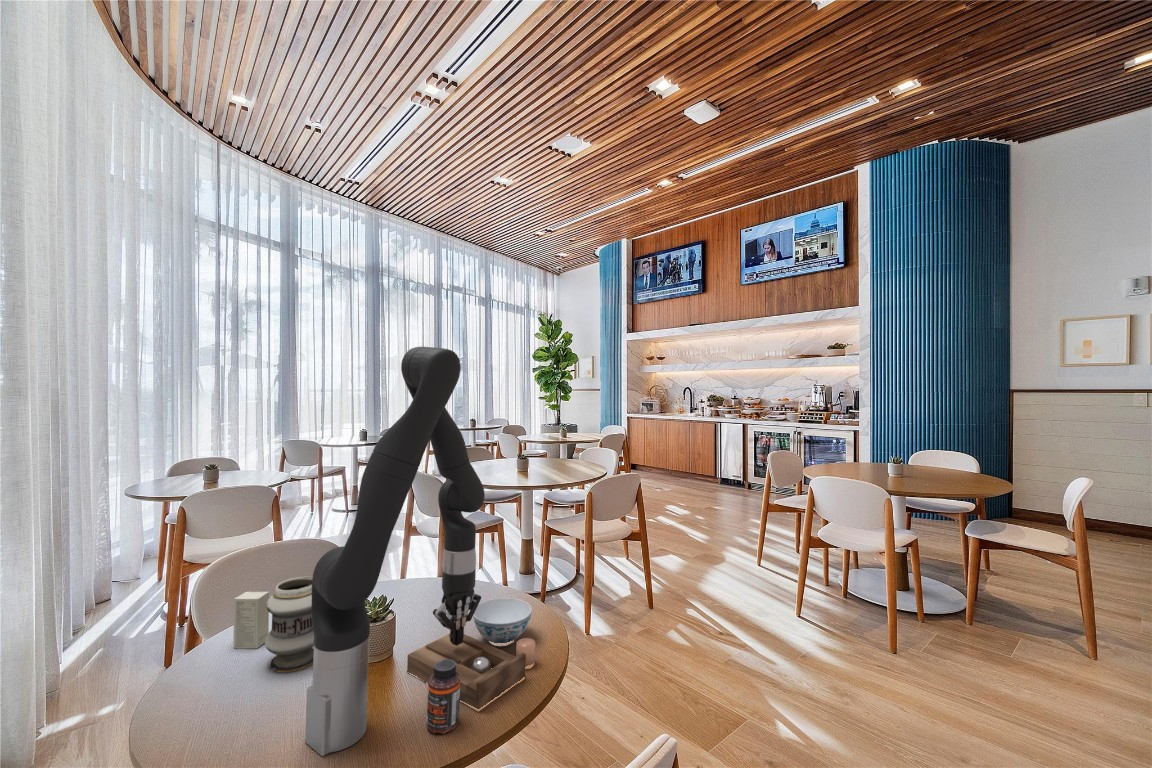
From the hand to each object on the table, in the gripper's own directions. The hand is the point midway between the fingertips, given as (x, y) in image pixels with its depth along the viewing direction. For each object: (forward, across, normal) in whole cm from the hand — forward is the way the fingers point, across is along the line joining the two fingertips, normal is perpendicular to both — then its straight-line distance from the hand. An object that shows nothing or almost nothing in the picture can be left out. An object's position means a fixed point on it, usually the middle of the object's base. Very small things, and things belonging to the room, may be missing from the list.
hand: (456, 643), depth 110 cm
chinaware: (+6, +15, 0) cm, 16 cm away
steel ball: (+3, +1, -8) cm, 8 cm away
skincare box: (+6, -24, +48) cm, 54 cm away
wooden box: (+6, -1, -4) cm, 7 cm away
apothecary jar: (+6, -21, +32) cm, 39 cm away
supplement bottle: (+6, -14, -13) cm, 20 cm away
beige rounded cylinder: (+6, +11, -12) cm, 17 cm away
